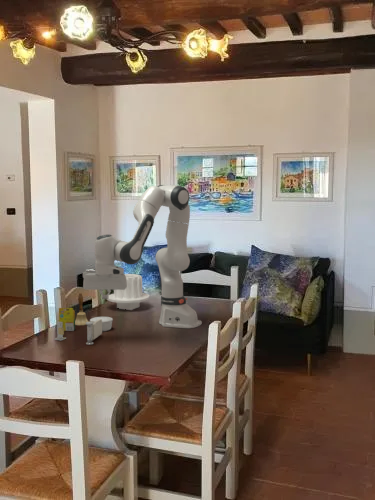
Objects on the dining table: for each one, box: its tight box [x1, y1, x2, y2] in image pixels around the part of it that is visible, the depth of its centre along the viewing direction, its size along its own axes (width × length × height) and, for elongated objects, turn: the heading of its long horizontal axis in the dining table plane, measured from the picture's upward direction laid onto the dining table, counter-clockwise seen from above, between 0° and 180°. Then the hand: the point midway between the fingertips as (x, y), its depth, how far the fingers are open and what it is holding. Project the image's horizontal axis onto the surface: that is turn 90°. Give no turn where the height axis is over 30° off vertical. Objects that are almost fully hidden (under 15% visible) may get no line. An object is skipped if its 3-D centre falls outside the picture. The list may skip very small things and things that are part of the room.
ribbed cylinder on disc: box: [106, 273, 151, 311], centre depth 320 cm, size 25×25×19 cm
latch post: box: [53, 321, 67, 341], centre depth 255 cm, size 5×4×8 cm
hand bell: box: [75, 292, 90, 326], centre depth 283 cm, size 8×8×16 cm
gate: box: [85, 319, 103, 341], centre depth 253 cm, size 16×3×9 cm, turn 168°
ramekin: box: [89, 316, 114, 332], centre depth 273 cm, size 11×11×5 cm
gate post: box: [85, 325, 94, 346], centre depth 248 cm, size 3×3×8 cm
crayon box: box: [58, 307, 76, 332], centre depth 270 cm, size 7×3×12 cm, turn 86°
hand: (105, 298), depth 256 cm, fingers closed
